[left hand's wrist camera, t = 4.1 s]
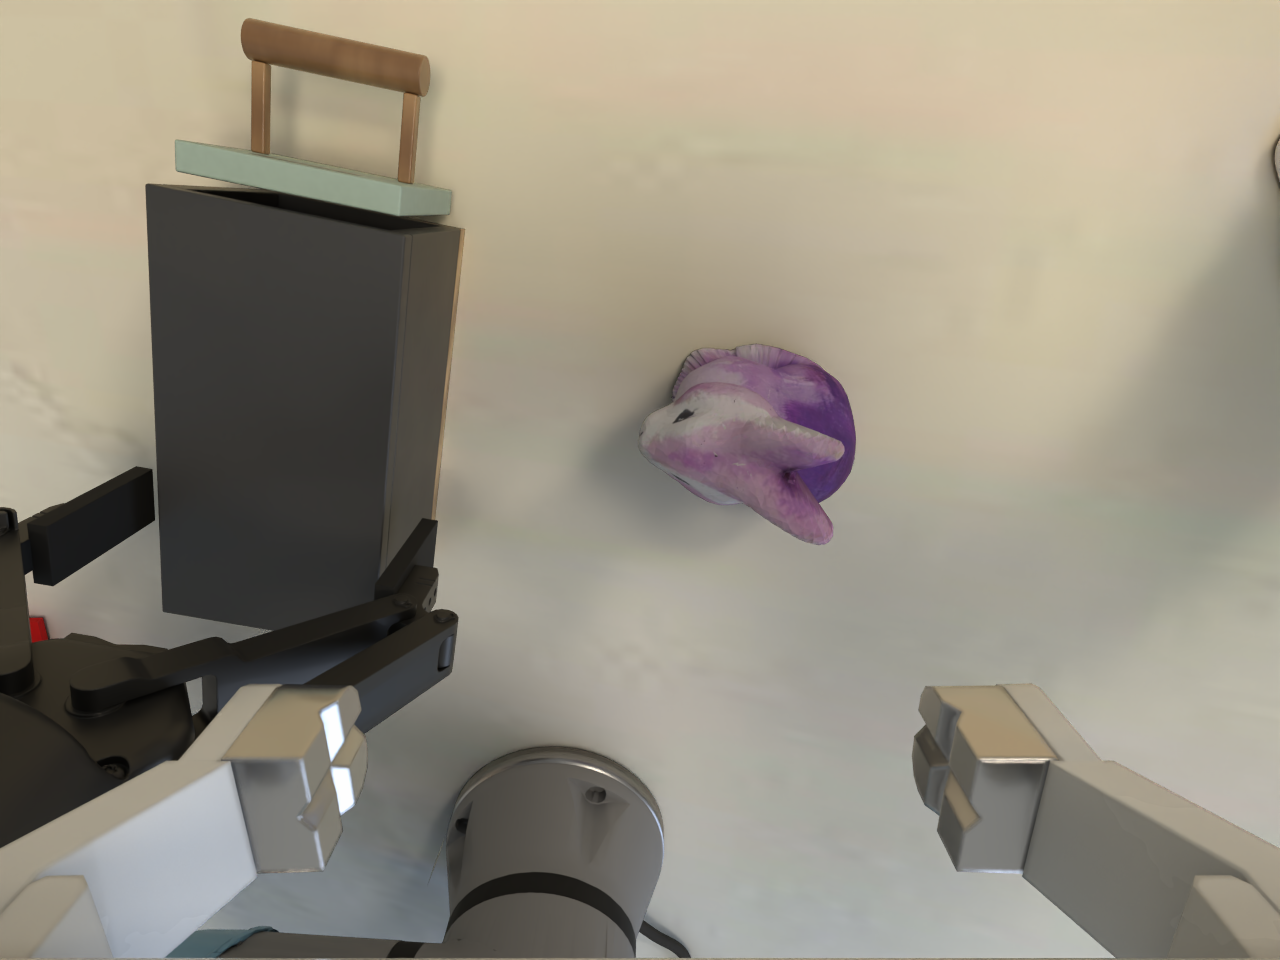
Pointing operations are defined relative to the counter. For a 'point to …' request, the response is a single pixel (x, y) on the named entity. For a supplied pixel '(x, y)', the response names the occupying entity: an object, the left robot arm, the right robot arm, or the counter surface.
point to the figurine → (756, 435)
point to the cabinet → (293, 396)
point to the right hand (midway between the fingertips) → (288, 518)
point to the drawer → (314, 178)
